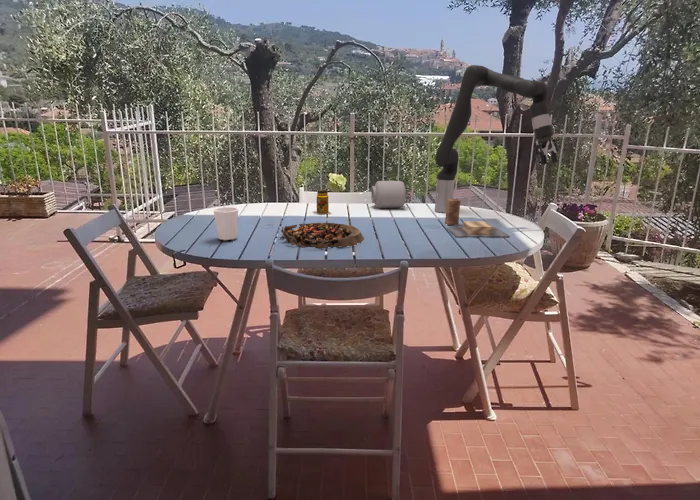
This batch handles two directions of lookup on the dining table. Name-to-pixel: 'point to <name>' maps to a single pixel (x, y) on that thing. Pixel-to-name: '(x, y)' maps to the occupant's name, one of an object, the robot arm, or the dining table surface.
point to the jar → (388, 194)
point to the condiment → (322, 202)
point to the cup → (226, 223)
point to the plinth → (476, 230)
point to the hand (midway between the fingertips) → (550, 163)
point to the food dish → (322, 235)
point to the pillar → (452, 212)
